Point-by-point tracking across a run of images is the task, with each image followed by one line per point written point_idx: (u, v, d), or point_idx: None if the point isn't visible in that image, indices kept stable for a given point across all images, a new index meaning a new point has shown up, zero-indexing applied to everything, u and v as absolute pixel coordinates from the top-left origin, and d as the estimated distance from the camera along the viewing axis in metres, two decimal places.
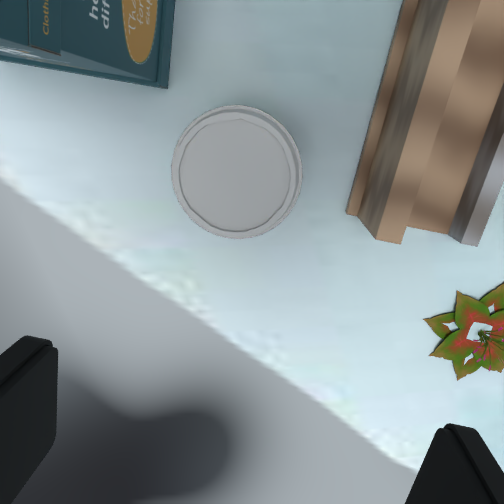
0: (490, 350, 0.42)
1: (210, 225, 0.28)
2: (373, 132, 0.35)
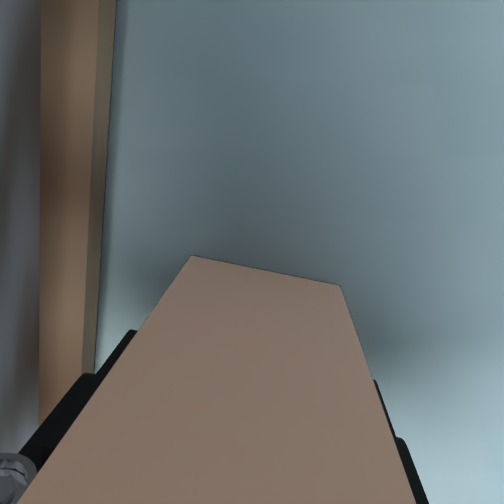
0: None
1: None
2: None
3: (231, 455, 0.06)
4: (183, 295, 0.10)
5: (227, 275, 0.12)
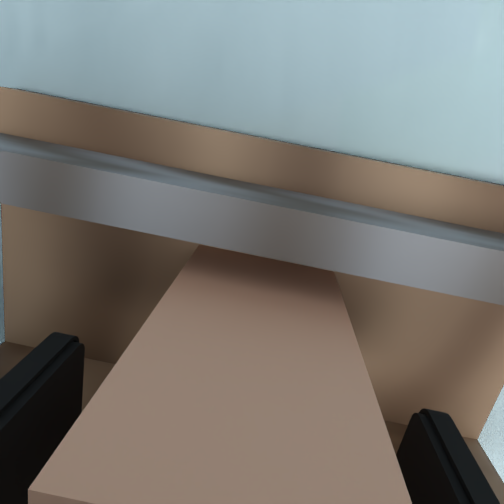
0: None
1: None
2: None
3: (240, 393, 0.07)
4: (194, 276, 0.11)
5: (232, 261, 0.13)
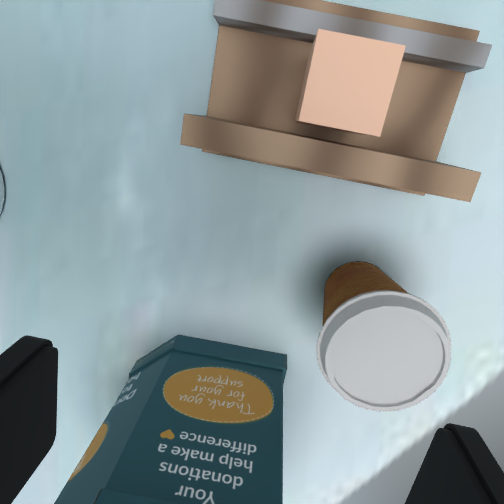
0: None
1: (433, 383, 0.27)
2: None
3: None
4: None
5: None
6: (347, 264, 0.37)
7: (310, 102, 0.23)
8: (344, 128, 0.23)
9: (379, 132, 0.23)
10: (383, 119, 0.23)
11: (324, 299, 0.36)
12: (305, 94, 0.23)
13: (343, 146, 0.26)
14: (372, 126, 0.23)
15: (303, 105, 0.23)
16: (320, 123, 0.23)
